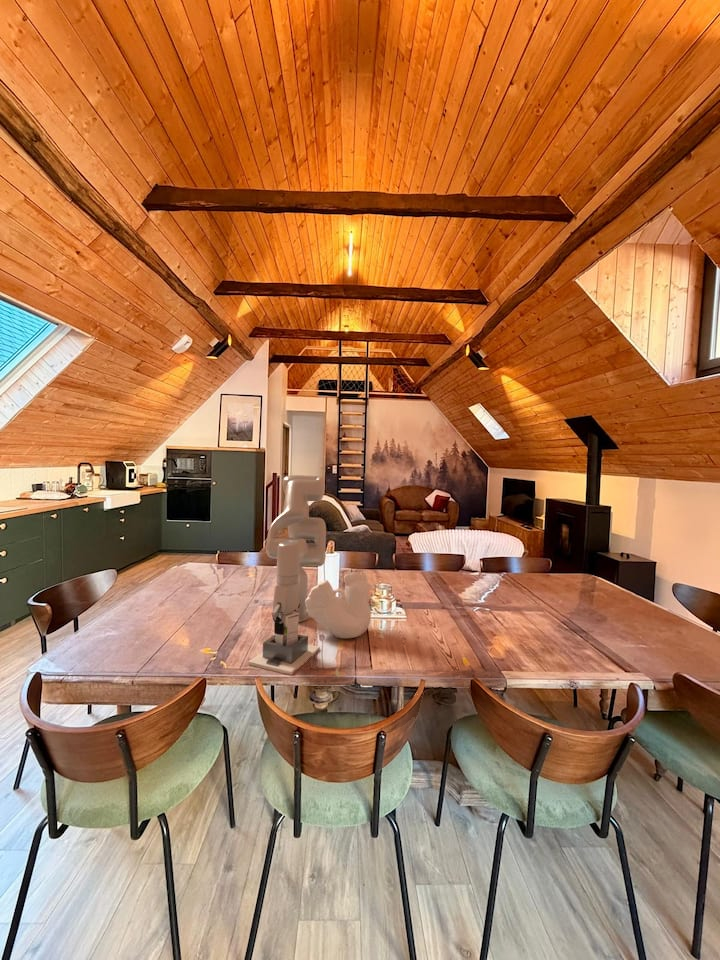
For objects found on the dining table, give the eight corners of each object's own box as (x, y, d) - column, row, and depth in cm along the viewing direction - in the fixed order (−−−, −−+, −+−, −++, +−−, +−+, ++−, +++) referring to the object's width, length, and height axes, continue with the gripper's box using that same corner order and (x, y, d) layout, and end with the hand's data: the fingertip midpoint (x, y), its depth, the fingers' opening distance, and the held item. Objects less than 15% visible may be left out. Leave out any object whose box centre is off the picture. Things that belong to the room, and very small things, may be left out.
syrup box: (273, 653, 149) (275, 611, 149) (288, 648, 154) (289, 607, 153) (283, 659, 145) (285, 616, 145) (298, 653, 150) (299, 611, 149)
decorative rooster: (372, 628, 177) (374, 567, 175) (367, 645, 161) (369, 578, 160) (312, 622, 180) (314, 563, 179) (301, 638, 165) (303, 573, 163)
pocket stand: (280, 641, 161) (281, 625, 161) (319, 649, 156) (320, 633, 155) (248, 664, 143) (248, 646, 142) (291, 675, 137) (291, 656, 137)
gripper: (291, 571, 157) (289, 618, 158) (263, 584, 141) (262, 636, 142) (309, 574, 155) (308, 622, 155) (284, 587, 138) (282, 640, 139)
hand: (286, 628), depth 149 cm, fingers open, 9 cm apart
